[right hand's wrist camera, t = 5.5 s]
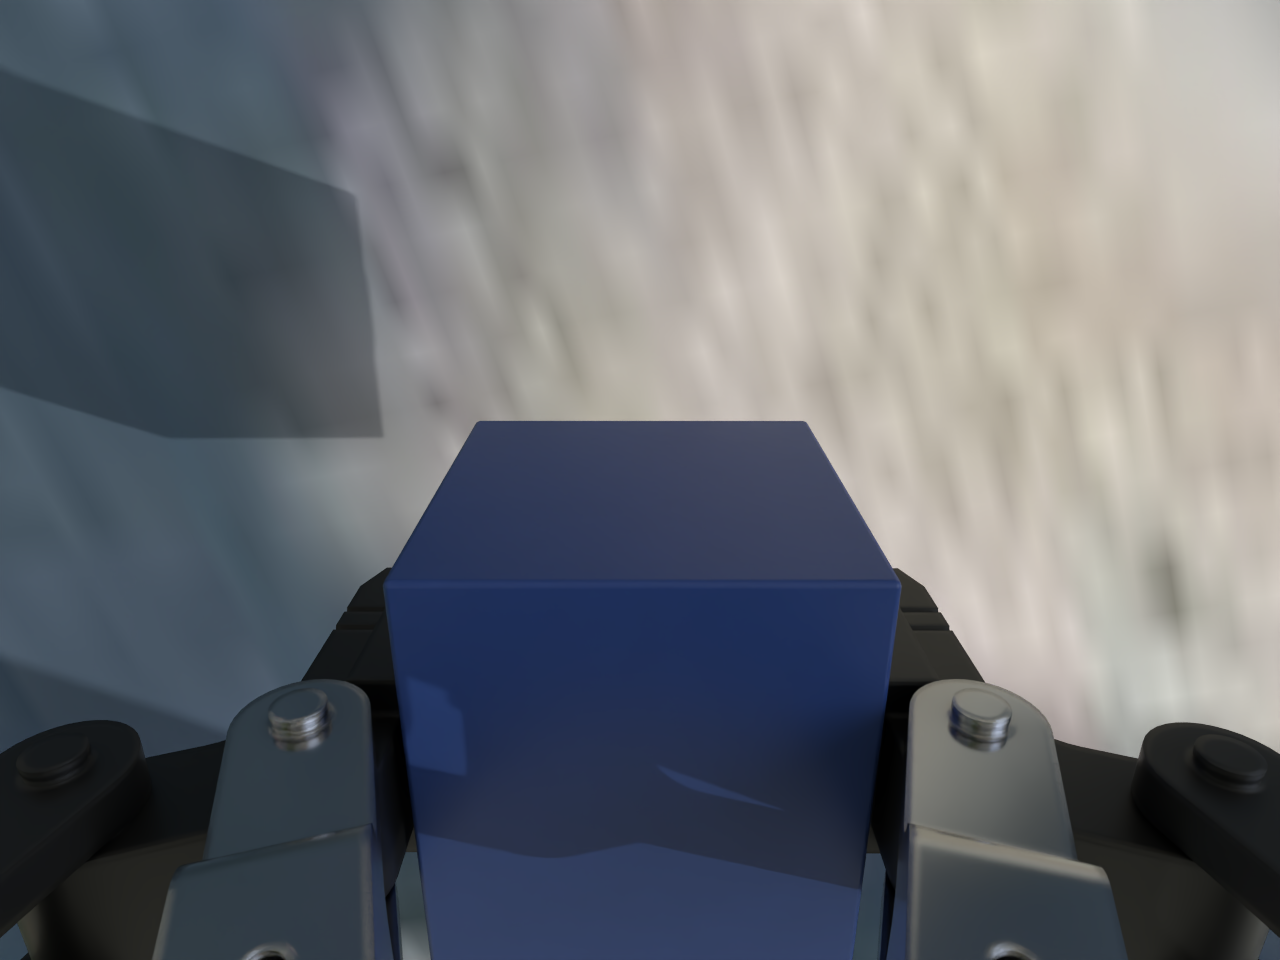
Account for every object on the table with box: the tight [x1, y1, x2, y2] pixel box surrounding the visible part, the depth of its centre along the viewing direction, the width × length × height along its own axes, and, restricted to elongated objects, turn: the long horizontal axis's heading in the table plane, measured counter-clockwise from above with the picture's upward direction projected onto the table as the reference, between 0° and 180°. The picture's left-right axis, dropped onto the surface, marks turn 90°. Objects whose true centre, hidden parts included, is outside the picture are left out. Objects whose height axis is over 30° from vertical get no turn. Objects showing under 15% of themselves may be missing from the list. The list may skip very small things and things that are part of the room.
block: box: [383, 421, 902, 960], centre depth 10 cm, size 5×5×5 cm
